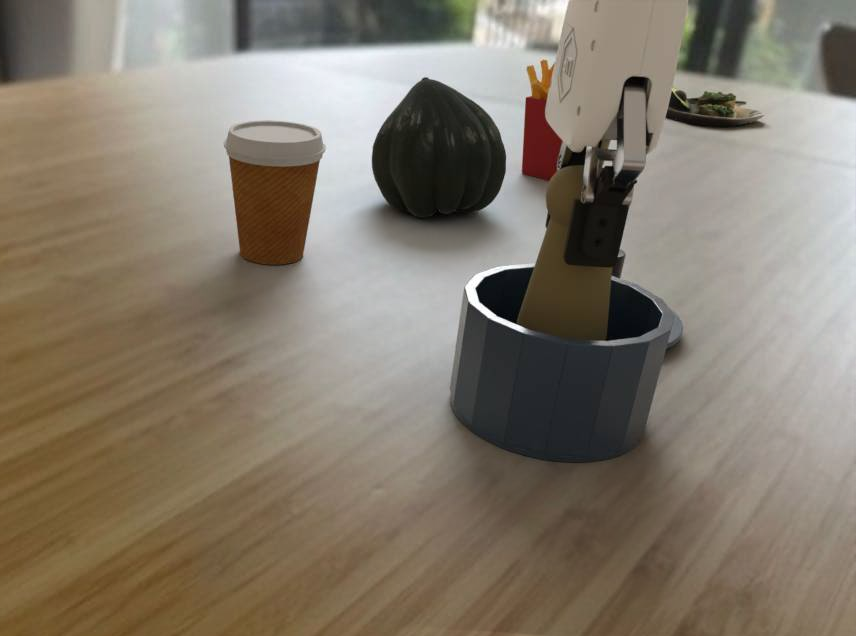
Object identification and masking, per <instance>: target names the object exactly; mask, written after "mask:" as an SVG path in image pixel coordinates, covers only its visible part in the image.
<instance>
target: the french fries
mask: <svg viewBox="0 0 856 636" xmlns="http://www.w3.org/2000/svg"><path fill="white" fill-rule="evenodd" d="M554 65H555V62H553V64H552V66H551V67H550V69H549V63H548V60H547V59H541V60H540V68H541V81H540V80H539V79H538V76H537V72H536V69H535V66H534V65H533V64H532V65H527V66H526V69H525V70H526V72H527V76H528V78H529V83H530V89H531V91H530V92H531V95H530V96H525V105H524V121H523V123H524V124H523V139H522V140H523V142H522V159H521V160H522V161H521V174H523V175H526V176H531V177H535V178H539V179H541V180H546V181H550V179H551V178H552V177H553V175H554V174H555V172H557V171H558V170H557V161H558V156H559V152H560V148H561V145H562V140H561V138H560V137H559V136H558V135H557V134H556V133H555V131H554V130H553V129H552V127H551V126H550V125H549V123H548V122H547V120H546V117H545V108H546V103H547V98H548V93H549V88H550V83H551V79H552V74H553V69H554Z"/></svg>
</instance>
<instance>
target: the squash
mask: <svg viewBox="0 0 856 636" xmlns="http://www.w3.org/2000/svg"><path fill="white" fill-rule="evenodd" d="M375 136H376V137H375V139H374V142H373V145H372V153H371V170H372V175H373V178H374V181H375V183H376V185H377V187H378V189H379V192H380V193H381V195H382V197H383V198H384V200H385V201H386V203H387V204H388V205H389V206H390V207H391V208H393V209H395V210H396V211H398V212H402V213H410V214H411V215H412V216H414V217H417V218H424V219H425V218H430V217H432V216H434V215H435V214H436V213H437V211H438V212H440V213H441V214H445V215H447V214H452V213H454V212H456V213H459V214H468V215H469V214H473V213H477V212H479V211H481V210H483V209H485V208H487V207H488V206H489V205H490V204H491V203H493V202H494V201H495V199H496V198H497V196H498V195H499V193H500V192H501V189H502V187H503V183H504V180H505V176H506V171H507V153H506V148H505V144H504V141H503V139H502V135H501V132H500V129H499V127H498V126H497V124H496V122H495V121H494V120H493V118H492V116H491V115H490V114H489V113H488V112H487V111H486V110H485V109H484V108H483V107H482V106H481V105H480V104H478V103H477V102H475V101H474V100H472V99H471V98H469V97H468V96H466V95H464V94H463V93H462V92H460V91H458V90H456V89H455V88H453V87H451V86H449V85H447V84H445V83H443V82H441V81H439V80H436V79H431V78H429V77H426V76H424V77H422V78H421V80H419V81H418V82H416V83H415V84H414V85H413V86H412V87H411V88H410V89H409V91H408V92H407V93H406V94H405V96H404V97H403V98H402V100H401V101H400V102H399V103H398V104H397V106H396V107H395V108H394V109H393V111H392V112H391V113H390V114H389V115H388V116H387V118H386V119H385V120H384V121H383V123H382V124H381V126H380V128H379V130H378V132H377V134H376V135H375Z"/></svg>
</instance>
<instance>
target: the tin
mask: <svg viewBox="0 0 856 636" xmlns="http://www.w3.org/2000/svg"><path fill="white" fill-rule="evenodd" d="M535 264H536V263H532V262H530V263H521V264H509V265H501V266H500V265H499V266H495V267H492V268H490V269H486V270H484V271H481V272H477V273H476V274H474V275H473V276H472V278H470V280H469V281H467V283H466V284H465V285H464V287H463V294H462V300H461V306H460V313H459V321H458V329H457V334H456V336H457V337H456V342H455V349H454V357H453V362H452V363H453V364H452V371H451V377H450V383H449V391H450V397H449V398H450V401H449V402H450V406H451V410H452V411H453V413H454V415H455V416H456V418H457V420H459V422H461V424H462V425H463V426H464V427H466V428H467V429H468V430H469V431H470V432H472V433H473V434H475V435H476V436H477V437H479V438H481V439H483V440H484V441H486V442H488V443H490V444H493V445H494V446H496V447H499V448H502V449H503V450H507V451H509V452H512V453H515V454H519V455H522V456H525V457H530V458H534V459H539V460H544V461H545V460H546V461H552V462H561V463H592V462H599V461H605V460H610V459H614V458H616V457H619V456H623V455H624V454H626V453H628V452H630V451H632V449H634V448H635V447H636V446H637V445H638V444H639V443H640V442H641V440H642V439H643V437H644V434H645V429H646V427H647V423H648V419H649V415H650V410H651V407H652V404H653V400H654V397H655V392H656V388H657V385H658V382H659V377H660V374H661V370H662V366H663V362H664V359H665V355H666V351H667V349H668V348H667V344H668V341H669V337H670V333H671V330H672V326H673V322H674V318H675V315H674V314H673V312H674V311H673V310H672V309H671V308H670V307H669V306H668V304H667V303H666V302H665V300H664V299H663V298H661V297H659V296H658V295H657V294H655V293H653V292H651V291H650V290H647V289H646V288H644V287H642V286H641V285H639V284H637V283H634V282H631V281H629V280H626V279H623V278H621V277H620V278H617V277H614V276H612V277H611V289H610V301H609V314H608V326H607V338H606V339H605V341H598V340H583V339H568V338H563V337H559V336H554V335H550V334H545V333H541V332H536V331H532V330H529V329H526V328H524V327H522V326H519V325H517V319H518V316H519V313H520V309H521V306H522V303H523V300H524V297H525V294H526V291H527V288H528V285H529V282H530V279H531V276H532V273H533V270H534V267H535ZM670 309H671V310H672V311H673V312H672V311H671V310H670ZM666 348H667V349H666Z"/></svg>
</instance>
